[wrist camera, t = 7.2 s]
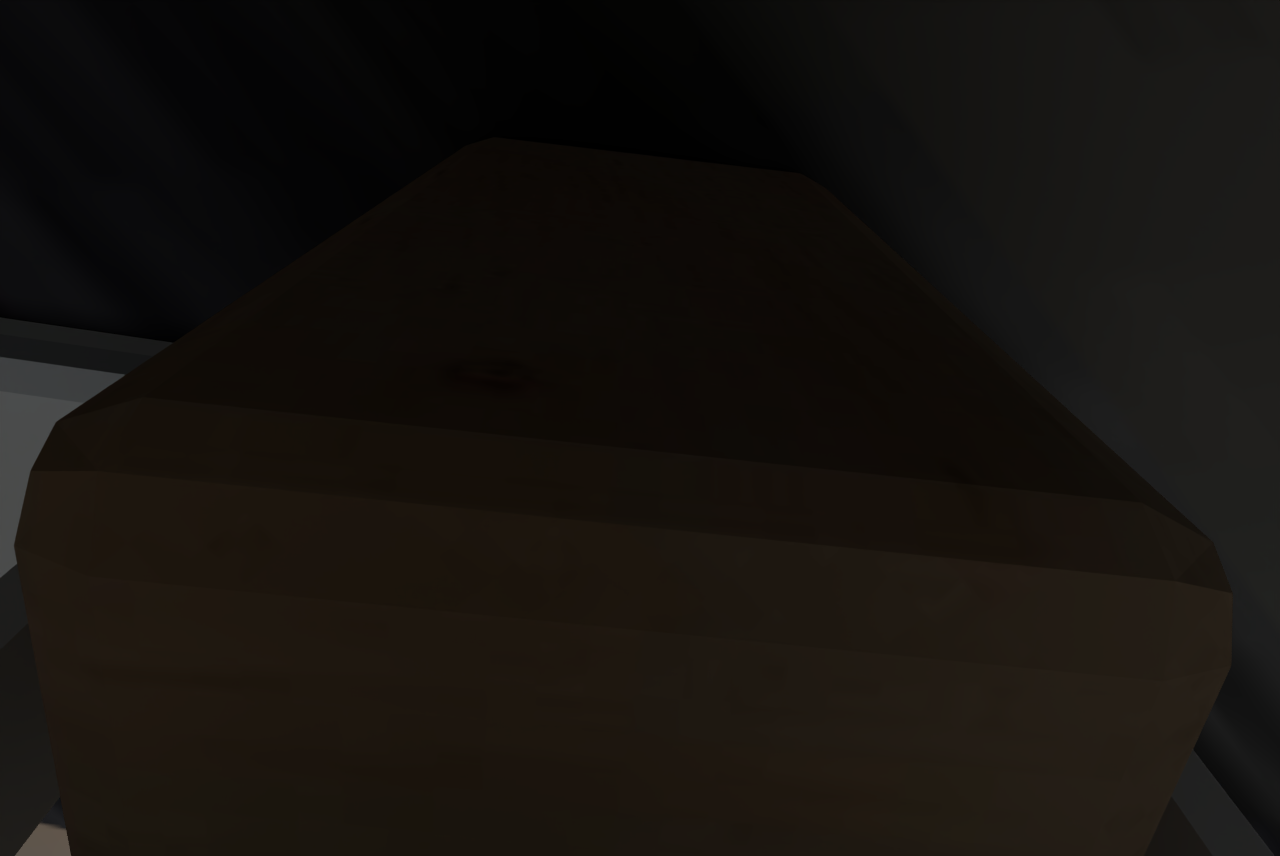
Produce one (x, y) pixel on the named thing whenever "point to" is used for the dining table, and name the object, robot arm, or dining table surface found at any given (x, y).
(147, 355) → the shallow gray rectangular tray
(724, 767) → the wooden block
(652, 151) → the dining table surface
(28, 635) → the robot arm
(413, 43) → the dining table surface
